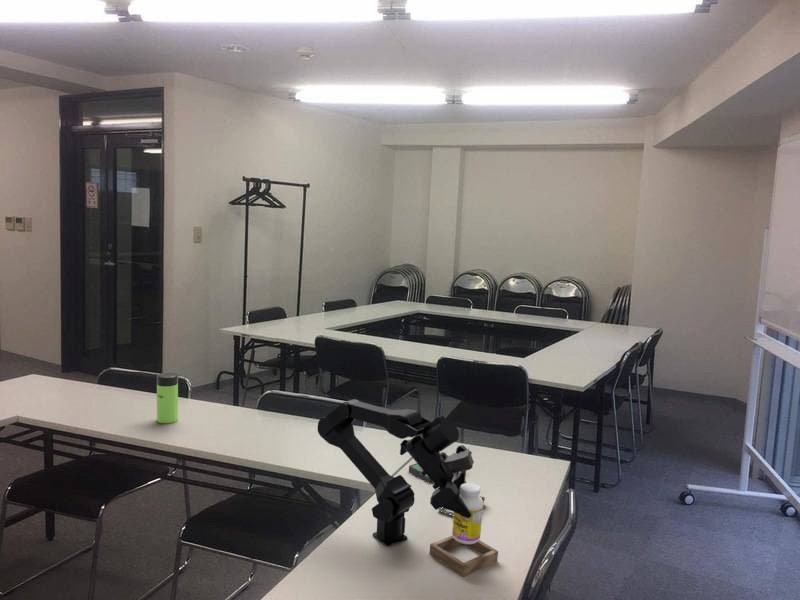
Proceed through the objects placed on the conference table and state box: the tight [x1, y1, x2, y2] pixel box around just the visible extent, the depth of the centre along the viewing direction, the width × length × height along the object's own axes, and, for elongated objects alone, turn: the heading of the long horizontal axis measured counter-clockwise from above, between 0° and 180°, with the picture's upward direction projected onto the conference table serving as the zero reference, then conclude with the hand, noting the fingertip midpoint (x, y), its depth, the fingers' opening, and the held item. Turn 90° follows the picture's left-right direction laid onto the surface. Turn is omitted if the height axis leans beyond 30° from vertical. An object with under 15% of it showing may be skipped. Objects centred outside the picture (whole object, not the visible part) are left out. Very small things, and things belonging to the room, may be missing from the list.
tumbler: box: [156, 372, 179, 424], centre depth 232 cm, size 8×8×17 cm
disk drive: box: [408, 463, 464, 484], centre depth 199 cm, size 10×3×15 cm
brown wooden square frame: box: [429, 535, 499, 577], centre depth 150 cm, size 11×11×2 cm
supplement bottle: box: [451, 482, 484, 545], centre depth 148 cm, size 7×7×13 cm
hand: (471, 510), depth 148 cm, fingers closed on supplement bottle, 7 cm apart
